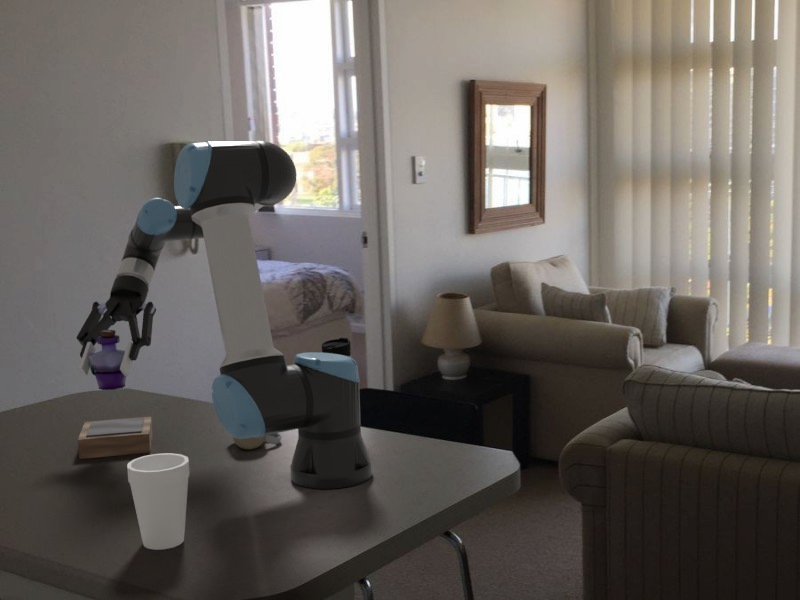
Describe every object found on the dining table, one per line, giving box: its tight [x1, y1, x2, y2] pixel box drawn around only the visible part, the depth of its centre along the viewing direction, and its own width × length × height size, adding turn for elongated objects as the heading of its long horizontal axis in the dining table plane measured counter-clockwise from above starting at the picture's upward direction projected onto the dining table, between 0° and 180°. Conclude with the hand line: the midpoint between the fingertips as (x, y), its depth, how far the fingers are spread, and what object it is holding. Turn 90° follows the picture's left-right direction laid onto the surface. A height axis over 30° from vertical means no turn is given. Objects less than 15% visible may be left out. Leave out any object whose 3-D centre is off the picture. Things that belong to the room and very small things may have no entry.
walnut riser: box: [77, 416, 154, 460], centre depth 210 cm, size 14×14×4 cm
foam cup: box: [127, 452, 191, 551], centre depth 156 cm, size 10×9×13 cm
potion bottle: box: [88, 329, 127, 391], centre depth 207 cm, size 9×9×12 cm
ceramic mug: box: [230, 432, 282, 451], centre depth 208 cm, size 11×8×8 cm
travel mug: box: [321, 337, 352, 358], centre depth 215 cm, size 6×7×20 cm
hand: (103, 372), depth 204 cm, fingers closed on potion bottle, 8 cm apart
